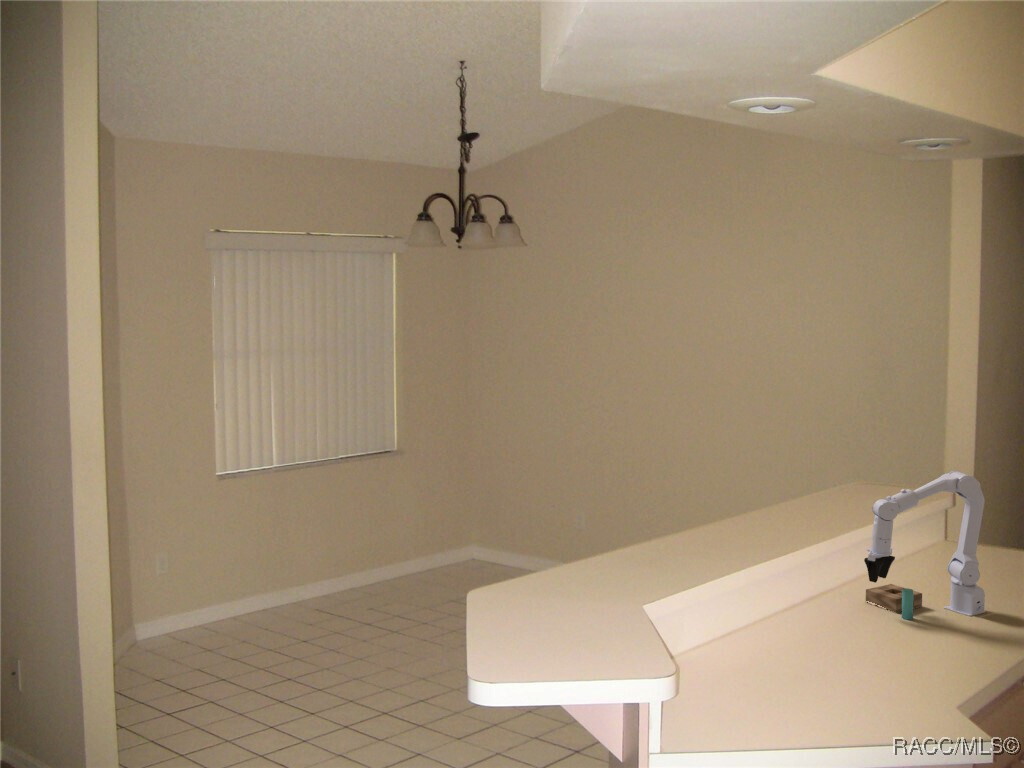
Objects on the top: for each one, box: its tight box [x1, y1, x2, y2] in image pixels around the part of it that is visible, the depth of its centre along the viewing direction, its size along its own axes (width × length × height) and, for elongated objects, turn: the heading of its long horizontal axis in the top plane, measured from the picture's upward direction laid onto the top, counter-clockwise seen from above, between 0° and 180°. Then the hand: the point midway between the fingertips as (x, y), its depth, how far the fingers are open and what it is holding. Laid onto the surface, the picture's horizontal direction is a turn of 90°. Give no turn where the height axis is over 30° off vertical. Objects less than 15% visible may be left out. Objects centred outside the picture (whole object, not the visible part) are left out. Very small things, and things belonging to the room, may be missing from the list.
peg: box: [901, 587, 914, 621], centre depth 291 cm, size 3×3×9 cm
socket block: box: [865, 583, 923, 614], centre depth 304 cm, size 12×12×4 cm
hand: (877, 579), depth 299 cm, fingers open, 7 cm apart
